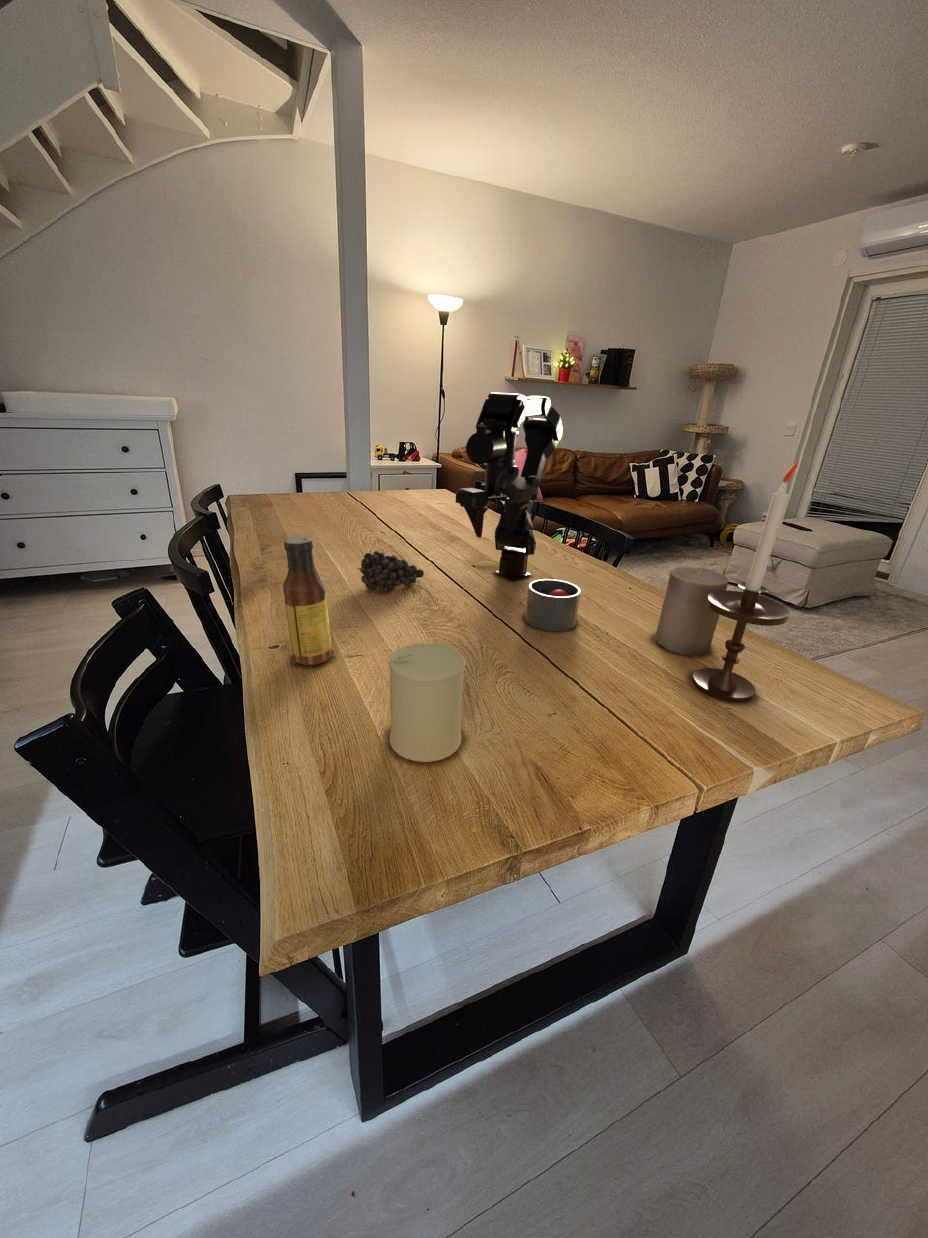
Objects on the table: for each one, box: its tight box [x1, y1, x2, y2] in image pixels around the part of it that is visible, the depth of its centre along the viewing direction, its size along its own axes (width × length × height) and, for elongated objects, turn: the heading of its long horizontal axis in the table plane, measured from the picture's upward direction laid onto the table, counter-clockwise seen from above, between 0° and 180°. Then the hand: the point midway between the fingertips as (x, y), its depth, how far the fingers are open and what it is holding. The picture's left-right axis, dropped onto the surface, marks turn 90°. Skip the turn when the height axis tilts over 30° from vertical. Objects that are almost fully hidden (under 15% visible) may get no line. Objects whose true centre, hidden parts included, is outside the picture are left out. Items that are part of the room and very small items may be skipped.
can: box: [388, 642, 466, 763], centre depth 62 cm, size 9×9×12 cm
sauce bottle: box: [282, 536, 332, 666], centre depth 78 cm, size 7×6×20 cm
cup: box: [524, 578, 582, 632], centre depth 99 cm, size 10×10×7 cm
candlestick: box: [691, 459, 799, 704], centre depth 73 cm, size 11×11×35 cm
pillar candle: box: [654, 565, 730, 656], centre depth 91 cm, size 10×10×15 cm
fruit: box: [356, 550, 425, 593], centre depth 111 cm, size 9×8×15 cm
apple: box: [547, 587, 570, 597], centre depth 100 cm, size 6×6×6 cm
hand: (494, 534), depth 109 cm, fingers open, 9 cm apart
